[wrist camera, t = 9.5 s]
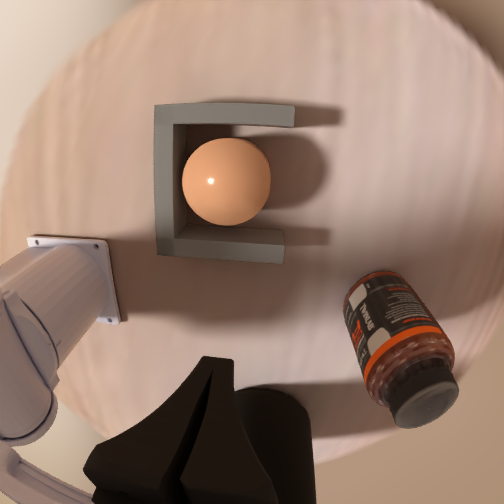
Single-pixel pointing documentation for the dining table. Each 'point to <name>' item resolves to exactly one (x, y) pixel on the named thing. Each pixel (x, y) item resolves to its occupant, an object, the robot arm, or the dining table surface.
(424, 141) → the dining table surface
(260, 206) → the tan rounded knob
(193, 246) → the dock
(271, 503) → the robot arm
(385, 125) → the dining table surface
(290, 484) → the coffee jar
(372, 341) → the supplement bottle
